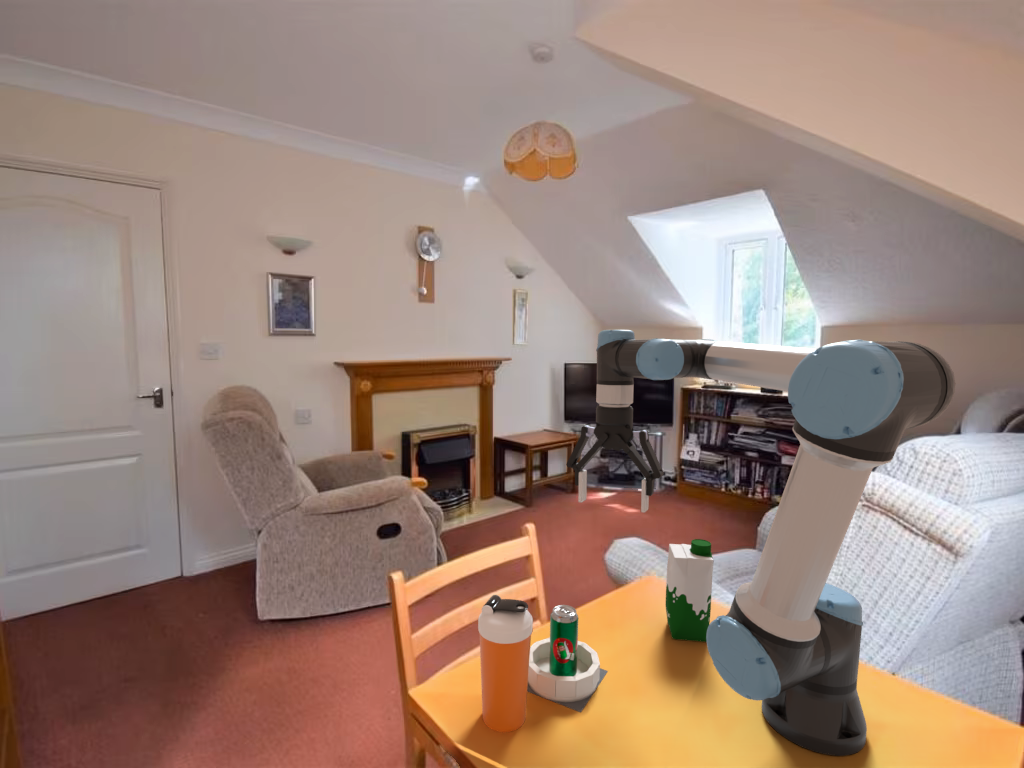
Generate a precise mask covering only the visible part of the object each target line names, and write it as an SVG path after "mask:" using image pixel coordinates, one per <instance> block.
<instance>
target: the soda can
mask: <svg viewBox="0 0 1024 768" xmlns="http://www.w3.org/2000/svg"><path fill="white" fill-rule="evenodd" d="M549 617H550V618H549V619H550V621H549V623H550V625H549V627H550V628H549V638H550V659H549V670H550V673H551V674H552V675H555V676H575V675H576V673H577V649H578V641H579V640H578V639H579V615H578V614H577V610H576V608H575V607H574V606H571V605H567V604H560V605H556V606H554V607H553V608H552V611H551V612H550V616H549Z"/></svg>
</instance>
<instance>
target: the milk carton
mask: <svg viewBox="0 0 1024 768" xmlns="http://www.w3.org/2000/svg"><path fill="white" fill-rule="evenodd" d="M714 561H715V560H714V558H713V553H712V542H710V541H708V540H706V539H704V538H703V539H701V538H695V539H692V540H691V542H690V544H686V543H681V544H679V543H678V544H677V543H676V544H675V543H669V545H668V554H667V563H666V581H665V583H666V585H665V588H666V589H665V611H666V619H667V624H668V629H669V631H670V636H671V639H673V640H681V641H690V642H691V641H692V642H704V643H707V640H706V635H707V629H708V626H709V625H710V623H711V621H710V620H711V609H712V592H713V591H712V590H713V589H712V587H713V575H714V574H713V572H714Z"/></svg>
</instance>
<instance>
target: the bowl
mask: <svg viewBox="0 0 1024 768" xmlns="http://www.w3.org/2000/svg"><path fill="white" fill-rule="evenodd" d="M549 659H550V637H547V638H544V639H541V640H537V641H535V642H534V643H532V645H530V657H529V671H528V684H529V686H530V688H531V689H532V690H533V691H534V692H535V693H537V694H538V695H540V696H542V697H541V698H543V697H544V698H543V699H545V698H546V700H548V699H549V700H548V701H550V700H552V701H551V702H553V701H557V702H575V701H580V700H583V699H585V698H587V697H589V696H590V695H591V694H593V695H594V693H595V692H596V690H597V689H596V688H598V687H597V685H598V681H599V678H600V668H601V663H600V658H599V653H598V652H597V651H596V650H595V649H593V648H592V647H591V646H589V644H587V643H586V642H584V641H580V640H578V649H577V673H576V675H575V676H555V675H552V674H551V673H550V670H549ZM594 691H595V692H594ZM538 695H537V696H538ZM540 696H539V697H540Z"/></svg>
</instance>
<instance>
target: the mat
mask: <svg viewBox="0 0 1024 768" xmlns="http://www.w3.org/2000/svg"><path fill="white" fill-rule="evenodd" d="M608 671H609V670H606V669H603V668H601V667H600V678H599V681H598V685H597V688H598V687H599V686H600V684H601V683H602V682H603V679H604V678H605V677H606V675H607V673H608ZM597 688H596V690H597ZM596 690H595V691H594V693H595V692H596ZM527 693H530V694H533V695H536V696H537V697H541V698H543V699H546V698H544V697H542V696H540V695H538V694H537V693H535V692H534V691H533V690H532V689H531V688H530V686H529V684H528V686H527ZM594 693H593V694H591V695H590V696H589V697H587V698H585V699H583V700H580V701H575V702H557V701H552V700H549V699H546V700H548V701H551V702H554V703H556V704H557V705H561V706H563V707H565V708H569V709H571V710H573V711H576V712H578V713H582V712H583V710H584V709H585V707H586V705H587V704H588V702H589V701H590V699H591V698H592V696H593V695H594Z"/></svg>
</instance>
